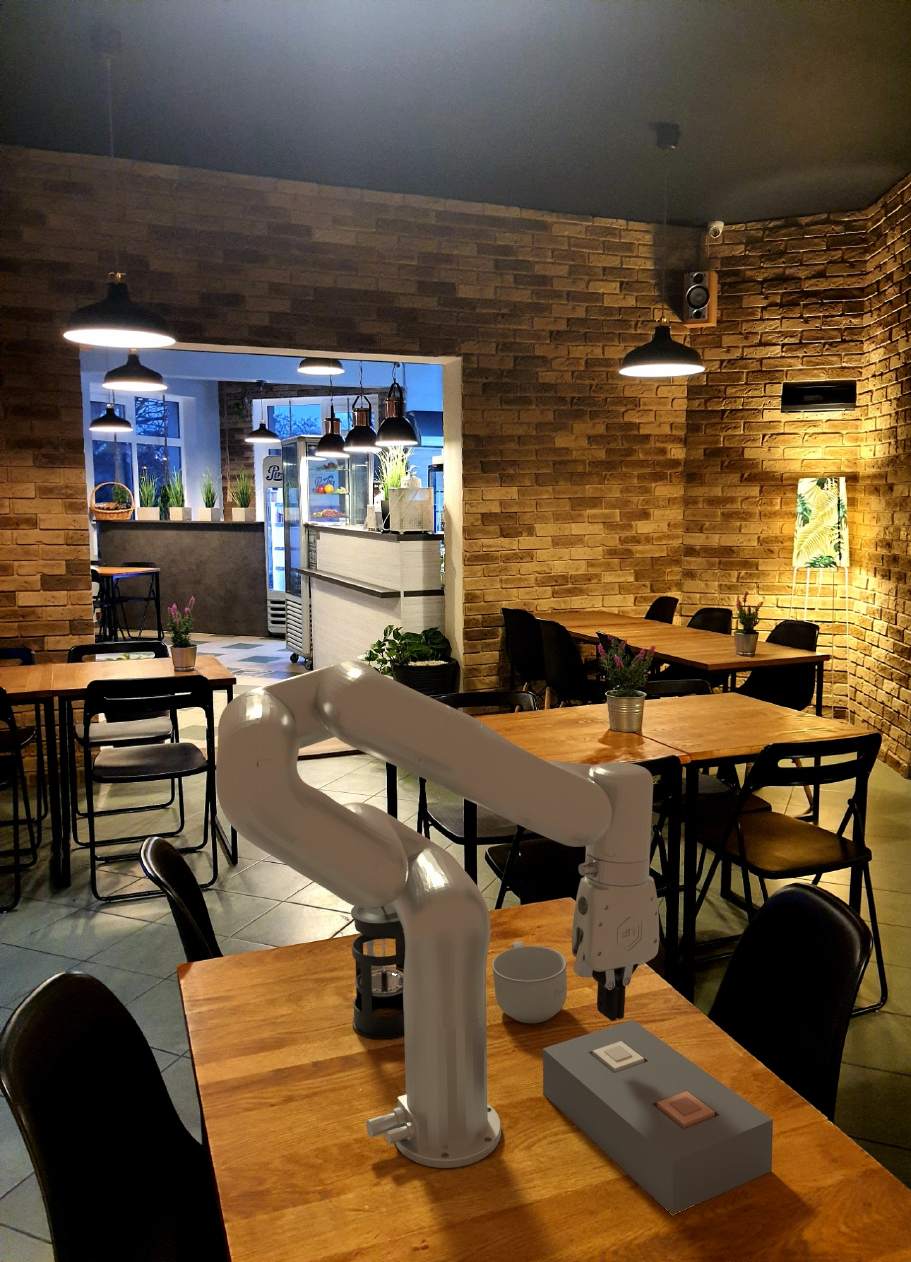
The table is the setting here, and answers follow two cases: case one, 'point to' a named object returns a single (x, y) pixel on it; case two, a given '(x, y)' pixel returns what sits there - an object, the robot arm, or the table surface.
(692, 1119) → the key terracotta
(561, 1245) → the table surface
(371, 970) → the french press
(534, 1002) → the teacup
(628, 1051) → the key ivory
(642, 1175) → the key console
